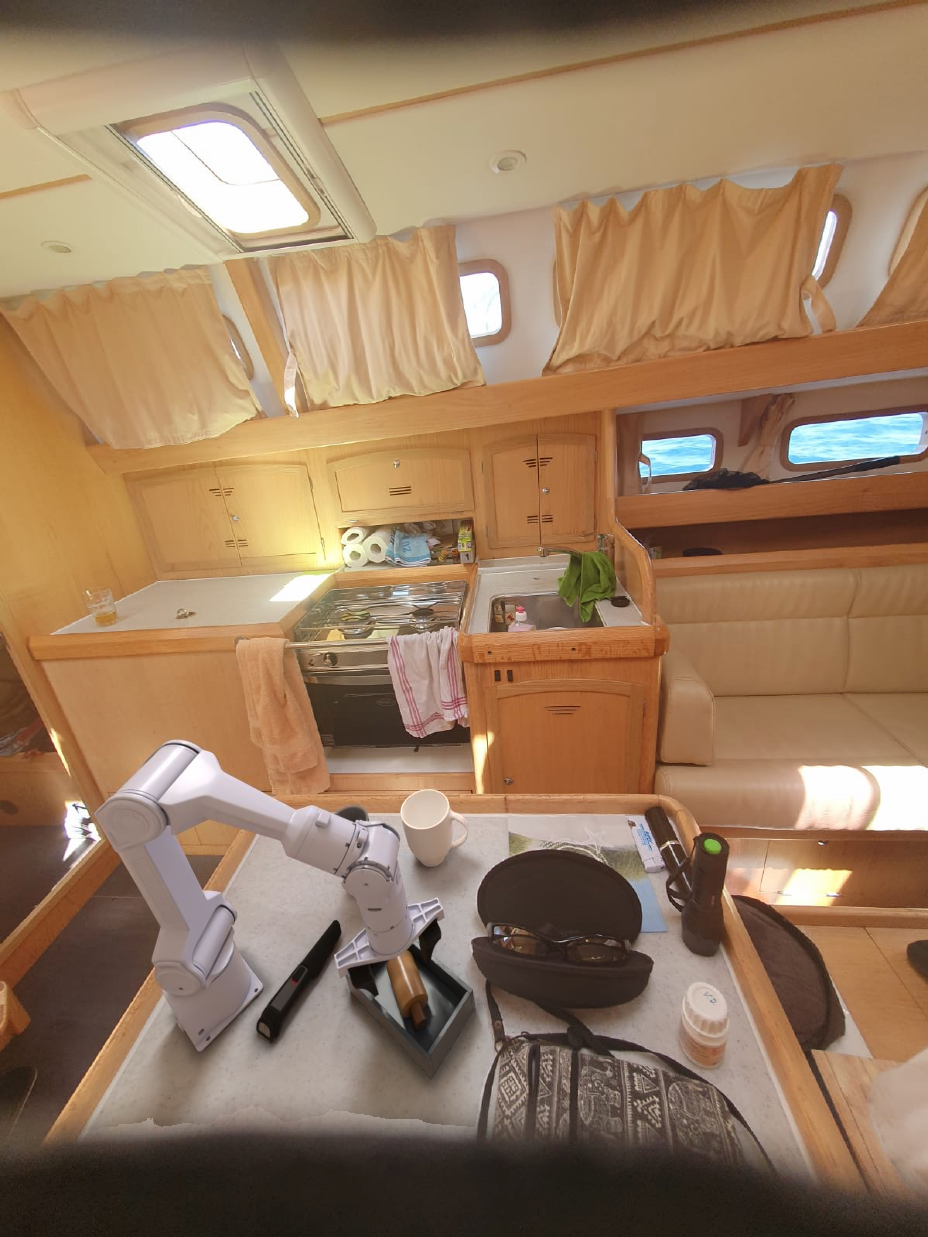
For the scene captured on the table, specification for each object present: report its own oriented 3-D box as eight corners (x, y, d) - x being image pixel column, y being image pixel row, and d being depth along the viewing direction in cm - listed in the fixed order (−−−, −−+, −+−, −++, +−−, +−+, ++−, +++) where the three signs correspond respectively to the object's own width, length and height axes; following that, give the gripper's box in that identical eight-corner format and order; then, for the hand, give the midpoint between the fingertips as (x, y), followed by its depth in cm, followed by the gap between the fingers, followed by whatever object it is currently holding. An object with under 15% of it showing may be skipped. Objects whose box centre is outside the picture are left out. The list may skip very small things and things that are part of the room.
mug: (405, 875, 82) (395, 827, 77) (414, 834, 90) (406, 789, 85) (468, 877, 80) (462, 829, 75) (472, 835, 88) (467, 789, 83)
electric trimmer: (349, 936, 73) (346, 924, 72) (274, 1046, 60) (267, 1033, 59) (332, 927, 75) (328, 914, 73) (255, 1031, 62) (248, 1018, 61)
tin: (431, 1080, 56) (427, 1061, 54) (350, 991, 66) (344, 973, 64) (475, 1008, 62) (473, 989, 60) (395, 937, 72) (391, 919, 70)
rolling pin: (406, 1042, 59) (408, 1022, 58) (380, 961, 68) (381, 942, 67) (434, 1027, 61) (436, 1007, 59) (405, 950, 70) (406, 931, 69)
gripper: (424, 858, 63) (436, 920, 69) (321, 911, 57) (342, 974, 63) (446, 900, 57) (456, 964, 63) (333, 964, 52) (355, 1028, 57)
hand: (400, 972), depth 62 cm, fingers open, 7 cm apart
